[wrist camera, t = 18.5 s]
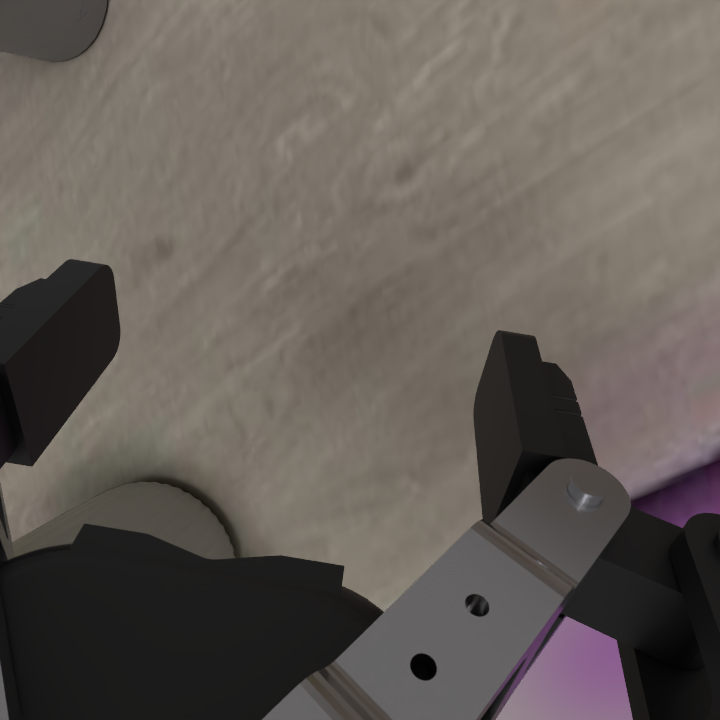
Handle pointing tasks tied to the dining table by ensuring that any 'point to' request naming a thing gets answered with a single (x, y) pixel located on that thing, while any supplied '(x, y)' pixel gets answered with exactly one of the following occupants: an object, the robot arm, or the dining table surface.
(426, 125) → the dining table surface
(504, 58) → the dining table surface
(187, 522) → the canister
